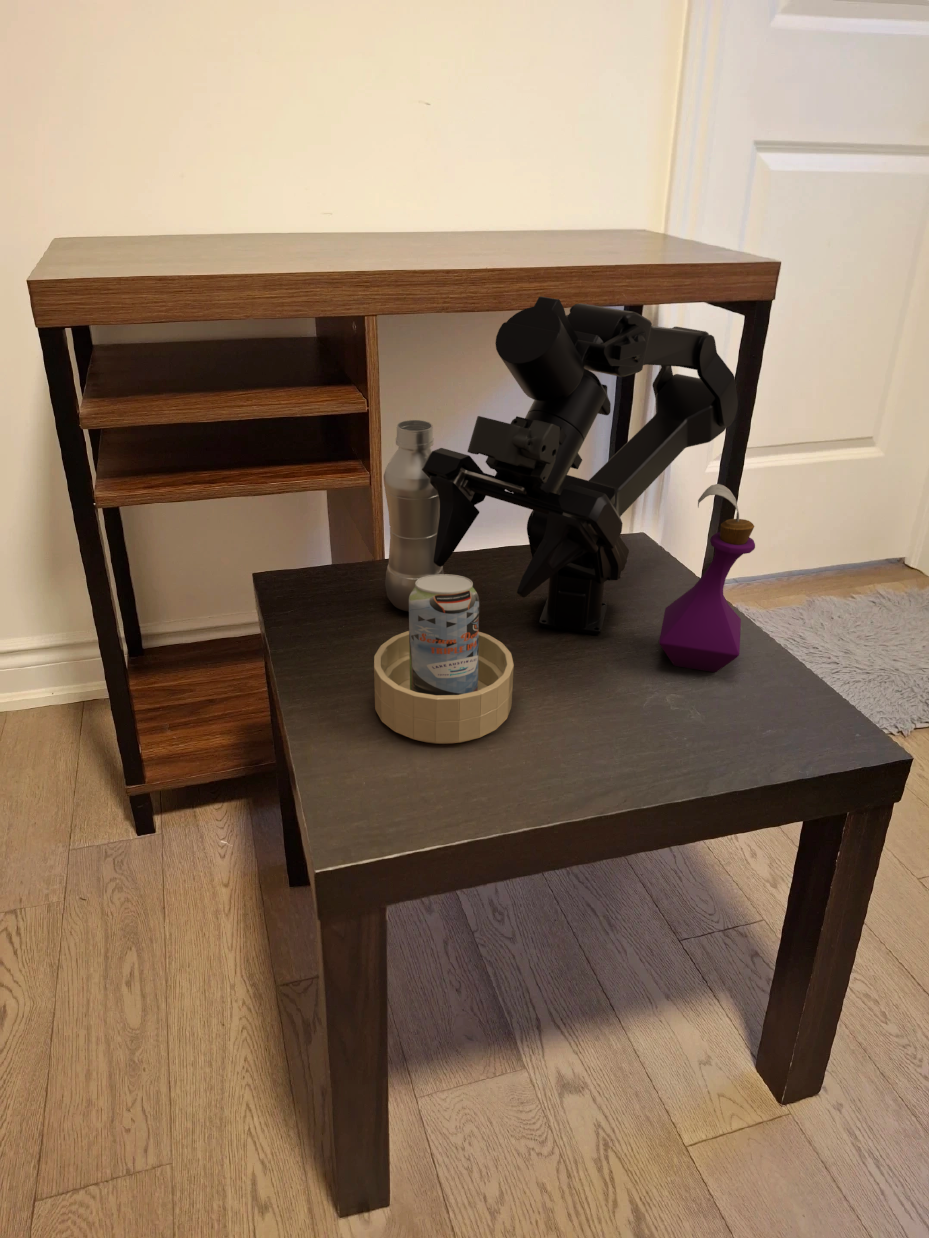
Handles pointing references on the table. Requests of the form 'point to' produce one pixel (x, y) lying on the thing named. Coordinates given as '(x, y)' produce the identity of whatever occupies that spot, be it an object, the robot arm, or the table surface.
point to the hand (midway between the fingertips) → (477, 579)
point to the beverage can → (443, 635)
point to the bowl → (443, 713)
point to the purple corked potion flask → (709, 602)
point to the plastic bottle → (410, 512)
